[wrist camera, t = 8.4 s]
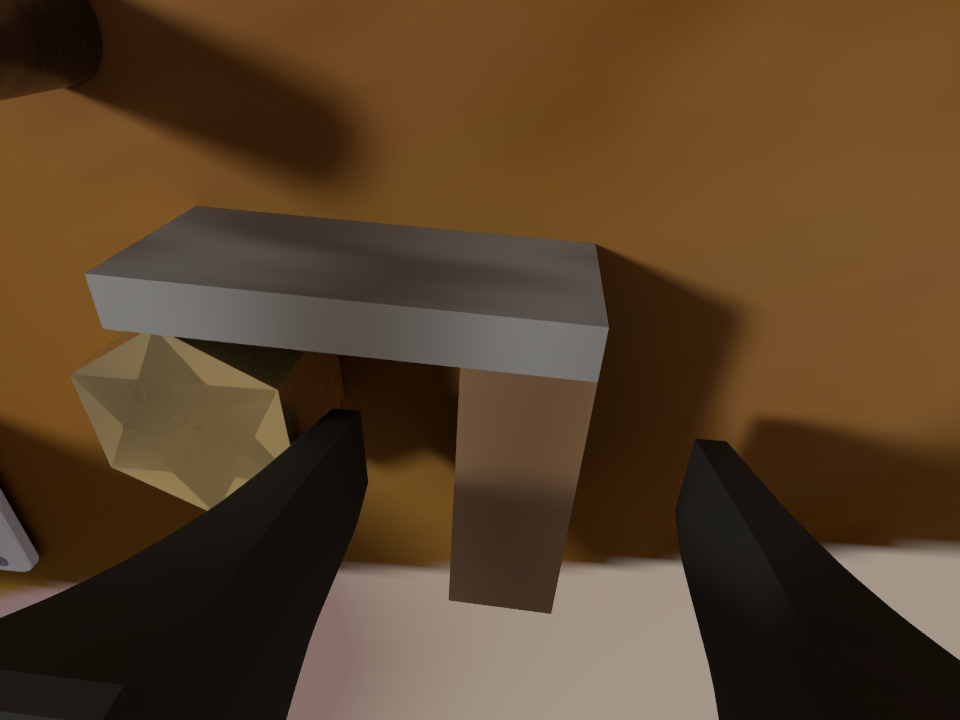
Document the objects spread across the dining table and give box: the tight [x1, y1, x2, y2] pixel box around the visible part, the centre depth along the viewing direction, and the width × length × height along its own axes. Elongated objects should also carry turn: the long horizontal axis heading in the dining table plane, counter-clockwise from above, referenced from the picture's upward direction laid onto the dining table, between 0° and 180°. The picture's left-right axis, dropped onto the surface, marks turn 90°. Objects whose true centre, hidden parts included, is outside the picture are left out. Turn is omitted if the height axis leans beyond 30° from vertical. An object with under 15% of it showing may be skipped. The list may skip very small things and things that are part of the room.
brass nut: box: [70, 331, 344, 511], centre depth 13 cm, size 5×4×3 cm
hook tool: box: [85, 206, 609, 614], centre depth 12 cm, size 8×7×4 cm
